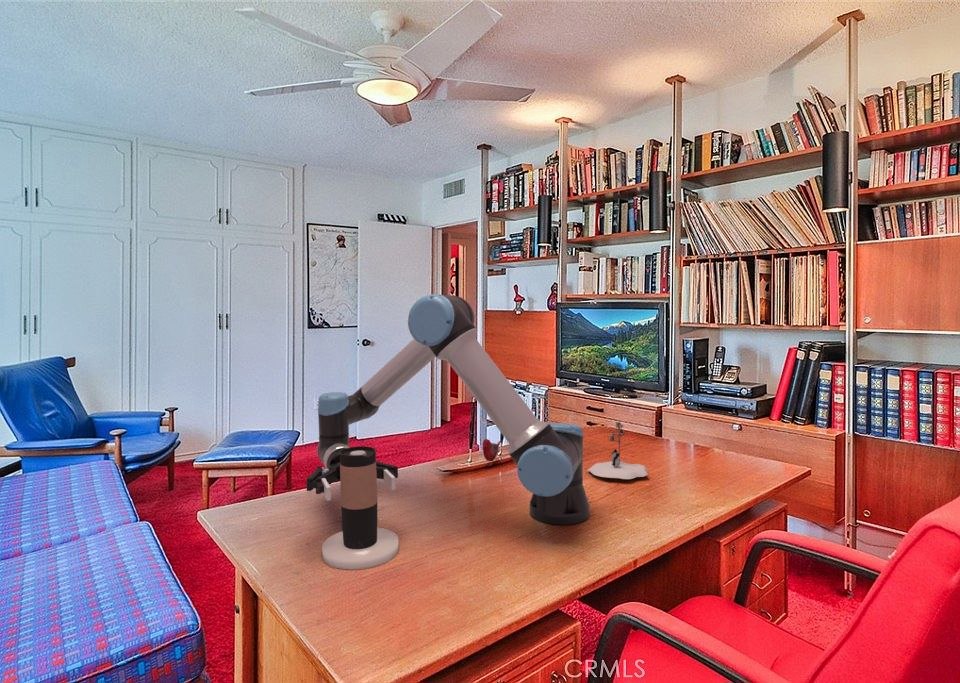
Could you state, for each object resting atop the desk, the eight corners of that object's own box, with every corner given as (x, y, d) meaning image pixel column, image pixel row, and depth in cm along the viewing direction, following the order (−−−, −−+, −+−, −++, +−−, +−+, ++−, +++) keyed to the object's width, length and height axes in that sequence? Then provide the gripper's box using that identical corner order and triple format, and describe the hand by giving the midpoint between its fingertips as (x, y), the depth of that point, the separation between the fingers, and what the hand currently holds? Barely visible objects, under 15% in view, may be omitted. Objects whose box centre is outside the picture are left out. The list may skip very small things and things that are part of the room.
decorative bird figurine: (479, 471, 170) (478, 440, 169) (497, 456, 186) (497, 428, 185) (487, 472, 169) (487, 441, 168) (505, 457, 185) (505, 429, 184)
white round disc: (413, 544, 117) (413, 535, 117) (364, 576, 103) (363, 566, 103) (358, 530, 125) (358, 522, 125) (305, 558, 111) (305, 549, 111)
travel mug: (345, 535, 117) (342, 446, 116) (380, 533, 118) (377, 445, 117) (339, 551, 110) (336, 456, 108) (376, 549, 110) (374, 455, 109)
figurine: (641, 485, 152) (642, 428, 153) (580, 476, 161) (581, 423, 162) (656, 473, 170) (656, 422, 170) (600, 466, 179) (601, 417, 179)
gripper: (391, 470, 135) (418, 496, 116) (288, 485, 125) (300, 516, 106) (391, 441, 135) (418, 463, 116) (287, 454, 124) (299, 480, 105)
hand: (362, 488), depth 111 cm, fingers open, 13 cm apart
